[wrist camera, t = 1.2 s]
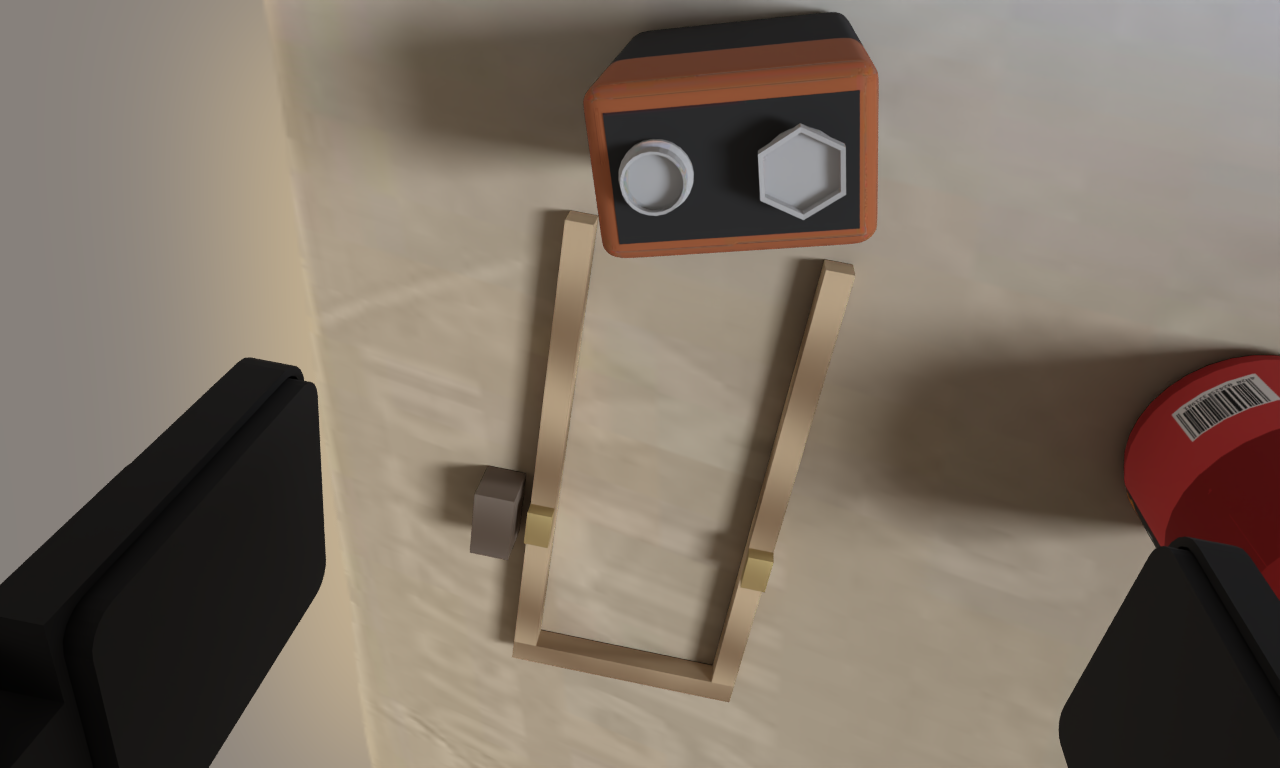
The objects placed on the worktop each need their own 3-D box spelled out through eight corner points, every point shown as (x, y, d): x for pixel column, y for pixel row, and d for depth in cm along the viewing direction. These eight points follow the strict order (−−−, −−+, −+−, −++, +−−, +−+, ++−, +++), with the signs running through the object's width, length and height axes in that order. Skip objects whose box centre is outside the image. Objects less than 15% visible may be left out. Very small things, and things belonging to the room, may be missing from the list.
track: (511, 199, 32) (497, 217, 30) (853, 265, 32) (857, 287, 30) (473, 632, 42) (460, 664, 41) (729, 685, 42) (728, 720, 40)
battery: (849, 150, 30) (883, 261, 21) (644, 166, 31) (596, 278, 22) (848, 7, 28) (885, 65, 19) (628, 30, 29) (569, 95, 20)
